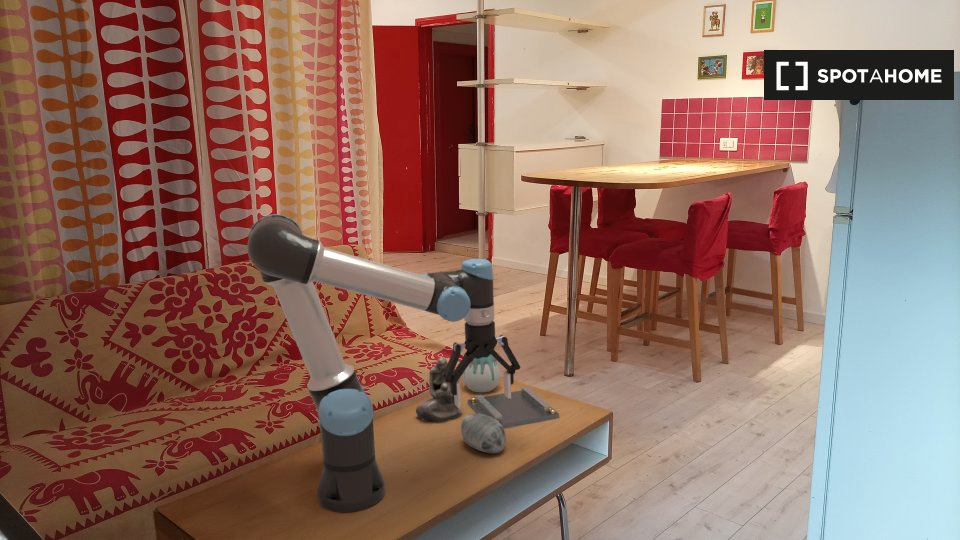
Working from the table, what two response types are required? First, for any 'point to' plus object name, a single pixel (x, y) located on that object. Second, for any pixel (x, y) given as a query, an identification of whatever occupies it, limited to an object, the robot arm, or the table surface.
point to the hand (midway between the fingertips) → (483, 401)
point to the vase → (482, 374)
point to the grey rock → (483, 433)
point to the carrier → (514, 407)
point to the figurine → (438, 397)
